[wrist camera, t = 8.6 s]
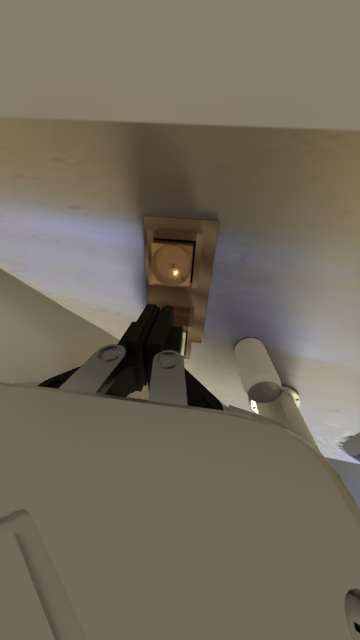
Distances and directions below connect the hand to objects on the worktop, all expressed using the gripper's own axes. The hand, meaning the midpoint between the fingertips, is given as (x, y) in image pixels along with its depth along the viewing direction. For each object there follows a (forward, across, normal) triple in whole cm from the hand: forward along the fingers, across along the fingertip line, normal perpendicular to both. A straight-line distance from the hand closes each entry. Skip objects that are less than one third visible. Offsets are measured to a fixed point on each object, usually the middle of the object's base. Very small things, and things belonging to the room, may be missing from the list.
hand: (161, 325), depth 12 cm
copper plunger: (+20, +1, -1) cm, 20 cm away
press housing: (+23, +1, +6) cm, 24 cm away
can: (+24, -16, +19) cm, 34 cm away
